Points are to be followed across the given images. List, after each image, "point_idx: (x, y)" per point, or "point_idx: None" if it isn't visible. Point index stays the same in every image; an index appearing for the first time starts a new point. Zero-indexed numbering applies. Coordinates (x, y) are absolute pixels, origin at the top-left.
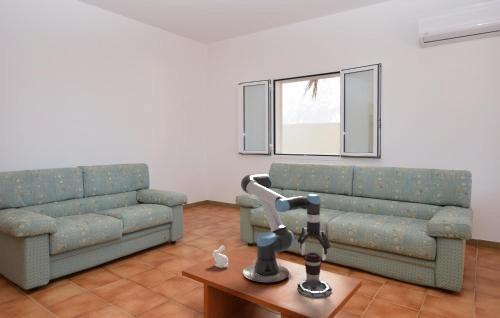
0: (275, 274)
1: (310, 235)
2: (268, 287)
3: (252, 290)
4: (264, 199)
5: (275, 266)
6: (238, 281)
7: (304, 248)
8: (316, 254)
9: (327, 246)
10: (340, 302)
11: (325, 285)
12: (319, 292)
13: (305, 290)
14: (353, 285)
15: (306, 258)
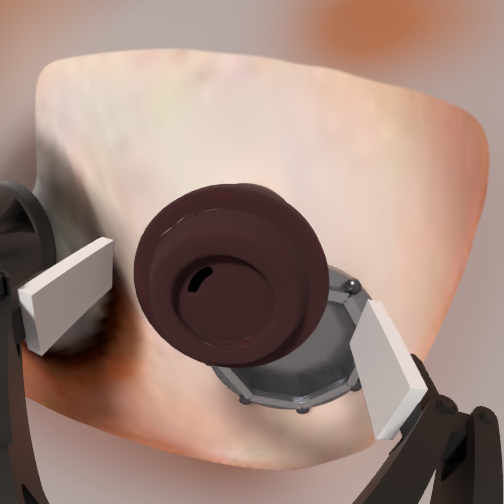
0: (55, 263)
1: None
2: (108, 383)
3: (87, 409)
4: None
5: (26, 267)
6: None
7: (75, 278)
8: (257, 268)
9: (453, 471)
10: None
11: (351, 316)
12: (331, 396)
13: (265, 402)
14: (475, 202)
15: (181, 351)
